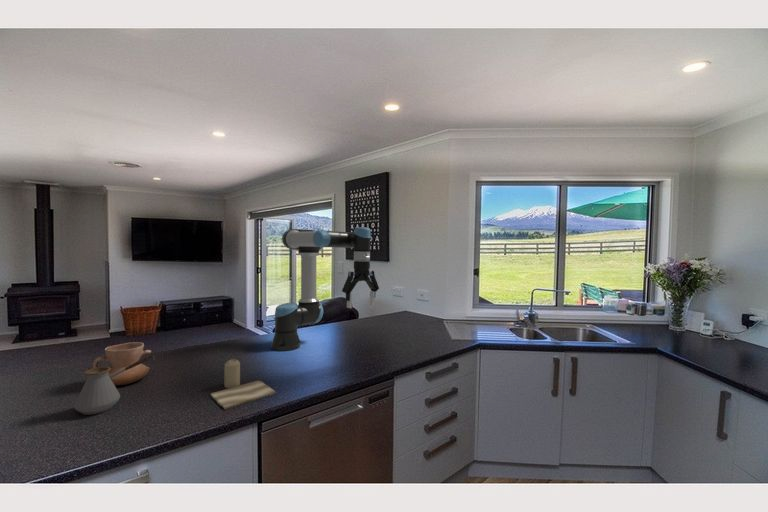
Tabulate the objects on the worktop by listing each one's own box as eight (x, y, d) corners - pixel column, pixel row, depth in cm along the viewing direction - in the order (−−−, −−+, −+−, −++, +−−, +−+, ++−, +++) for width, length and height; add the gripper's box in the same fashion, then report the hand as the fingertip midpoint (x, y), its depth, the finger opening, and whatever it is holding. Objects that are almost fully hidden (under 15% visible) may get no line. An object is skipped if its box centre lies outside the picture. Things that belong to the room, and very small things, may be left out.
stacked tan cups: (152, 371, 140) (152, 338, 140) (150, 383, 128) (149, 347, 128) (97, 380, 130) (96, 345, 130) (89, 394, 118) (88, 355, 118)
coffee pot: (72, 421, 99) (72, 373, 99) (74, 407, 108) (74, 362, 108) (157, 401, 113) (157, 358, 113) (153, 390, 122) (153, 350, 122)
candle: (224, 389, 124) (224, 363, 124) (224, 383, 129) (224, 358, 129) (240, 386, 126) (240, 361, 126) (239, 381, 131) (239, 356, 131)
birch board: (210, 395, 118) (210, 393, 118) (259, 382, 131) (259, 380, 131) (224, 409, 108) (224, 407, 108) (275, 393, 121) (275, 391, 121)
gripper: (344, 261, 140) (343, 310, 141) (386, 260, 157) (385, 304, 158) (334, 260, 146) (333, 308, 146) (376, 260, 163) (375, 302, 163)
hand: (360, 306), depth 152 cm, fingers open, 13 cm apart
